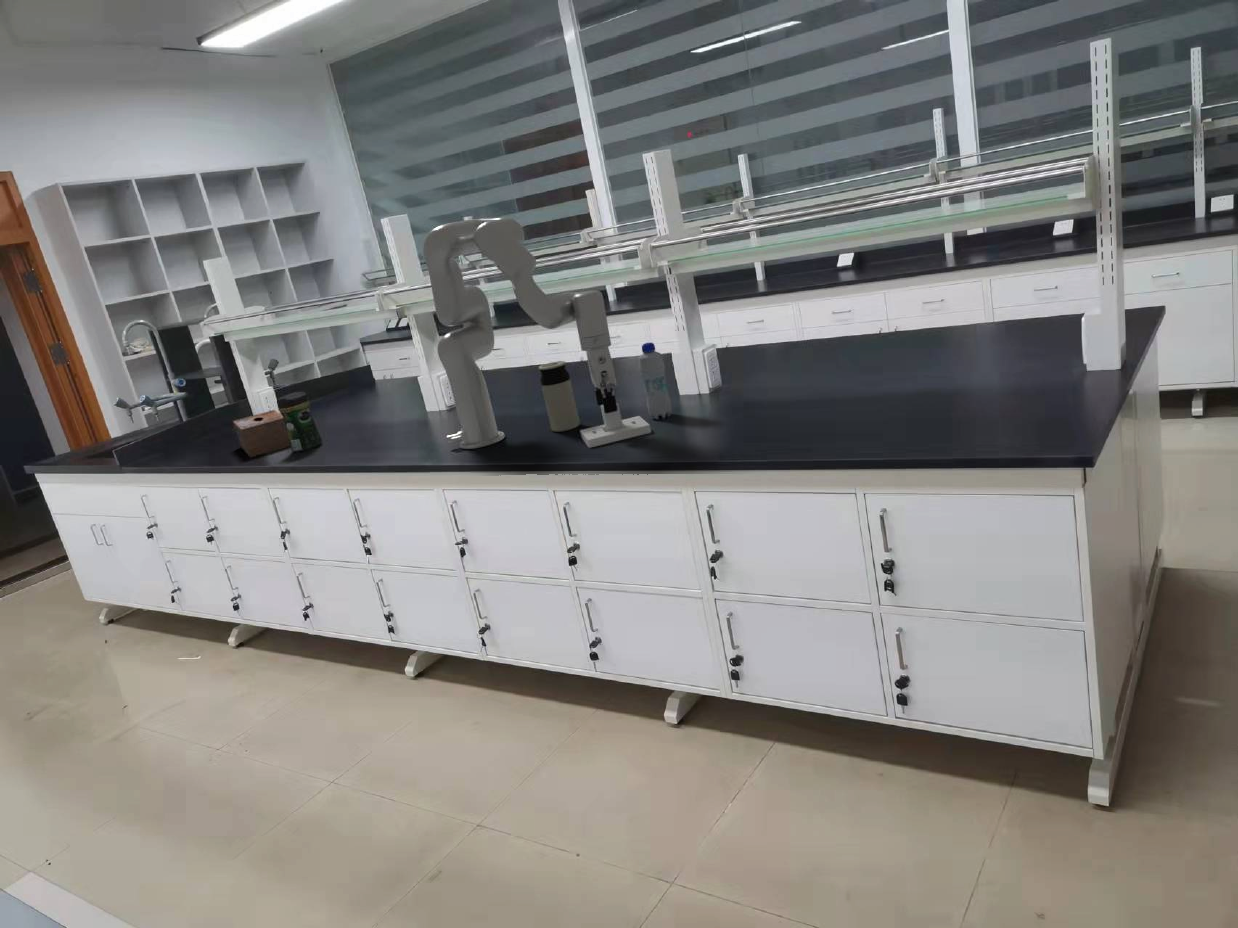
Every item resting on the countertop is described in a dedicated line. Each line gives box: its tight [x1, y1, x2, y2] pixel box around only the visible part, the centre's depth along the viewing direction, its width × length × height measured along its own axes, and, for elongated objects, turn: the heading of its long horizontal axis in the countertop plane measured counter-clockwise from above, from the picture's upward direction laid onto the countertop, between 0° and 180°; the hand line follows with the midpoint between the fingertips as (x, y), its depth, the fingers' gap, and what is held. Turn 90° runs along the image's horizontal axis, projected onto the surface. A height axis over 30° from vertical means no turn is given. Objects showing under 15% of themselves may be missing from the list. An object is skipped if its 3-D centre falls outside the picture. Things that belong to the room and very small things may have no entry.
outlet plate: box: [579, 415, 652, 449], centre depth 224 cm, size 16×12×2 cm
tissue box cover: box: [232, 409, 291, 458], centre depth 306 cm, size 26×14×10 cm, turn 30°
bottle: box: [638, 342, 673, 420], centre depth 230 cm, size 7×7×20 cm
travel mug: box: [537, 360, 581, 433], centre depth 240 cm, size 8×8×18 cm
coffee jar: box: [276, 391, 323, 453], centre depth 286 cm, size 10×8×19 cm
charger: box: [600, 402, 623, 432], centre depth 223 cm, size 4×4×8 cm
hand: (607, 408), depth 222 cm, fingers open, 9 cm apart
